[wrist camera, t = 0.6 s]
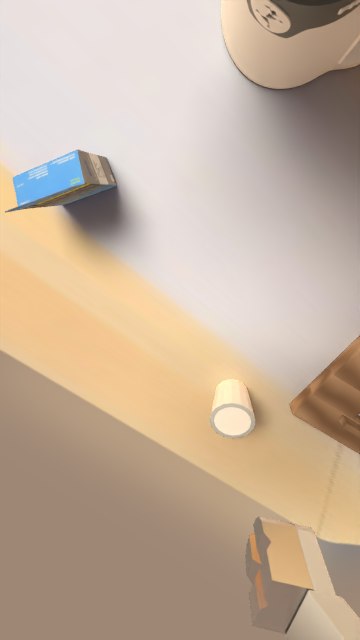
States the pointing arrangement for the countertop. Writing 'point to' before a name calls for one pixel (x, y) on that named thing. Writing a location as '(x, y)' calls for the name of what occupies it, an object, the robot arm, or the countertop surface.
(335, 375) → the board
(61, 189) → the label tape cartridge
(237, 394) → the white cup
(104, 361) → the countertop surface
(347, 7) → the robot arm
